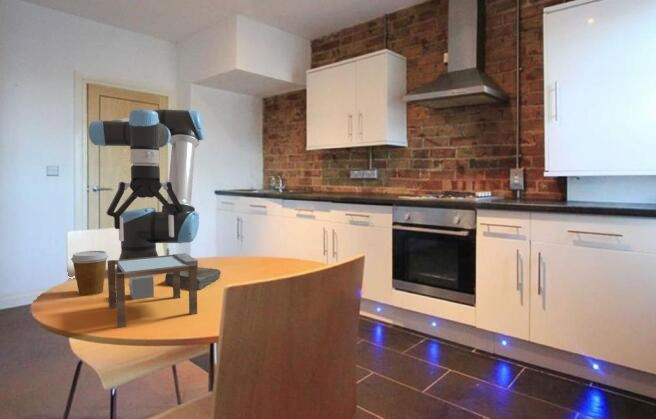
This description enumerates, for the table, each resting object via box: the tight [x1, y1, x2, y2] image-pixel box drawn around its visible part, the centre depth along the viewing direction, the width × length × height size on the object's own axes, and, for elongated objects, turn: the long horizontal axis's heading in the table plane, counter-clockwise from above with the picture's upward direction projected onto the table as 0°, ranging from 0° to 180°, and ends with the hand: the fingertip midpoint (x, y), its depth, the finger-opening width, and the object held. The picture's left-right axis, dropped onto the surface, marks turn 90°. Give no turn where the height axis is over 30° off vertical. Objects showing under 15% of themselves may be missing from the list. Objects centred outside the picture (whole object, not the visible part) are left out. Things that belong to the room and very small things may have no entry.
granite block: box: [128, 275, 155, 301], centre depth 118 cm, size 6×6×6 cm
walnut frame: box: [107, 253, 198, 329], centre depth 105 cm, size 18×18×13 cm
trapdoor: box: [117, 252, 199, 273], centre depth 106 cm, size 15×17×2 cm
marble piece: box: [164, 266, 222, 291], centre depth 134 cm, size 17×15×4 cm
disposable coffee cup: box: [70, 250, 109, 296], centre depth 121 cm, size 10×10×12 cm
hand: (147, 238), depth 117 cm, fingers open, 13 cm apart
